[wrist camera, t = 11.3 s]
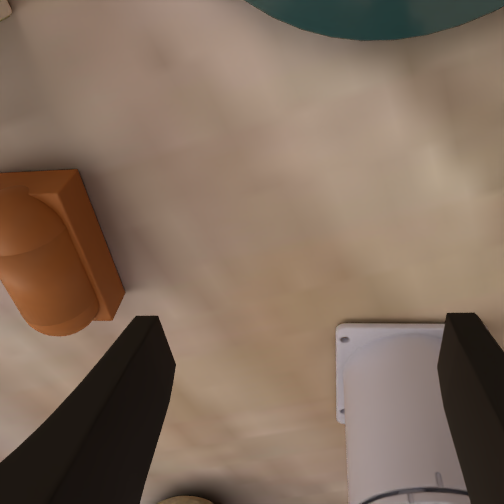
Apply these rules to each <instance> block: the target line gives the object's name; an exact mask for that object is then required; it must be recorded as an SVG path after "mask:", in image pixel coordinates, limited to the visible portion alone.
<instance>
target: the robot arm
mask: <svg viewBox="0 0 504 504" xmlns="http://www.w3.org/2000/svg"><path fill="white" fill-rule="evenodd" d="M343 337H347V338H343ZM175 367H176V363H175V361H174V358H173V355H172V353H171V350H170V347H169V344H168V342H167V339H166V336H165V334H164V331H163V328H162V325H161V323H160V320H159V317H158V316H136V317H135V318H134V319H133V320H132V321H131V322H130V324H129V325H128V326H127V327H126V329H125V330H124V331H123V332H122V333H121V335H120V336H119V337H118V338H117V340H116V341H115V342H114V343H113V345H112V346H111V347H110V348H109V350H108V351H107V352H106V353H105V354H104V356H103V357H102V358H101V359H100V361H99V362H98V363H97V364H96V365H95V366H94V368H93V369H92V370H91V371H90V372H89V373H88V375H87V376H86V377H85V378H84V379H83V381H82V382H81V383H80V384H79V385H78V386H77V387H76V389H75V390H74V391H73V392H72V393H71V394H70V395H69V396H68V397H67V398H66V399H65V400H64V402H63V403H62V404H61V405H60V406H59V407H58V408H57V409H56V410H55V411H54V412H53V413H52V414H51V415H50V417H49V418H48V419H47V420H46V421H45V422H44V423H43V424H42V425H41V426H40V427H39V428H38V429H37V430H36V431H35V432H34V433H32V434H31V435H30V436H29V437H28V438H27V439H26V440H25V441H24V442H23V443H22V444H21V445H20V446H19V447H18V448H17V449H15V450H14V451H13V452H12V453H11V454H10V455H9V456H7V457H6V458H5V459H4V460H3V461H2V462H1V463H0V504H140V500H141V496H142V492H143V489H144V485H145V481H146V478H147V475H148V471H149V468H150V465H151V462H152V458H153V455H154V452H155V448H156V445H157V442H158V439H159V435H160V432H161V429H162V425H163V422H164V419H165V415H166V412H167V409H168V405H169V402H170V396H171V391H172V386H173V380H174V373H175ZM336 419H337V421H338V422H339V423H342V424H345V431H346V454H347V477H348V501H349V504H504V352H503V350H502V349H501V348H500V346H499V345H498V343H497V342H496V341H495V339H494V338H493V337H492V335H491V334H490V332H489V330H488V328H487V326H485V325H484V324H483V322H482V321H481V319H480V318H479V317H478V316H477V315H476V314H475V313H447V315H446V321H445V324H402V323H342V324H340V325H338V326H337V327H336Z"/></svg>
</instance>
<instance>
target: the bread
mask: <svg viewBox="0 0 504 504" xmlns="http://www.w3.org/2000/svg"><path fill="white" fill-rule="evenodd" d="M0 280H1V281H2V283H3V285H4V286H5V288H6V290H7V291H8V293H9V295H10V296H11V298H12V300H13V301H14V303H15V305H16V306H17V308H18V310H19V311H20V313H21V315H22V316H23V318H24V319H25V320H26V322H27V323H28V324H29V325H30V326H31V327H32V328H34V329H35V330H37V331H38V332H40V333H43V334H46V335H49V336H67V335H71V334H74V333H76V332H78V331H80V330H82V329H83V328H85V327H86V326H87V325H89V324H90V323H91V321H112V320H113V318H114V316H115V314H116V312H117V310H118V308H119V305H120V303H121V301H122V299H123V297H124V295H125V291H124V288H123V286H122V283H121V280H120V278H119V275H118V273H117V270H116V267H115V265H114V262H113V260H112V257H111V254H110V252H109V249H108V247H107V244H106V242H105V239H104V236H103V234H102V231H101V229H100V226H99V223H98V221H97V218H96V216H95V213H94V210H93V208H92V205H91V203H90V200H89V198H88V195H87V192H86V190H85V187H84V185H83V182H82V179H81V177H80V174H79V172H78V170H77V169H69V170H49V171H29V172H9V173H0Z"/></svg>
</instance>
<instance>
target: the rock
mask: <svg viewBox="0 0 504 504" xmlns="http://www.w3.org/2000/svg"><path fill="white" fill-rule="evenodd" d="M157 504H214V503H212V502H211V501H209V500H206V499H204V498H200V497H196V496H175V497H172V498H168V499H166V500H163V501H161V502H159V503H157Z"/></svg>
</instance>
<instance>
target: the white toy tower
mask: <svg viewBox="0 0 504 504" xmlns="http://www.w3.org/2000/svg"><path fill="white" fill-rule="evenodd" d="M11 14H12V10H11V7H10V5H9V3H8V1H7V0H0V21H2V20H4V19H6V18H8V17H9V16H10V15H11Z"/></svg>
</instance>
